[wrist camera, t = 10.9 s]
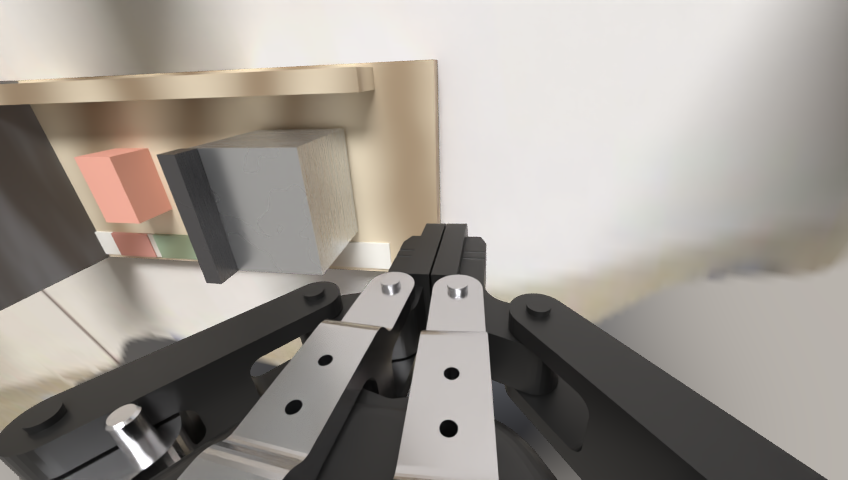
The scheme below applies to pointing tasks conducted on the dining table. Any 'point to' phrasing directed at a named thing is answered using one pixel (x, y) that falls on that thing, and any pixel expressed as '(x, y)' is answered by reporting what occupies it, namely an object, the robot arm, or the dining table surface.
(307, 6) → the dining table surface
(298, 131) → the carriage
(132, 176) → the pink eraser
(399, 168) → the beige long open tray
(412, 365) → the robot arm
